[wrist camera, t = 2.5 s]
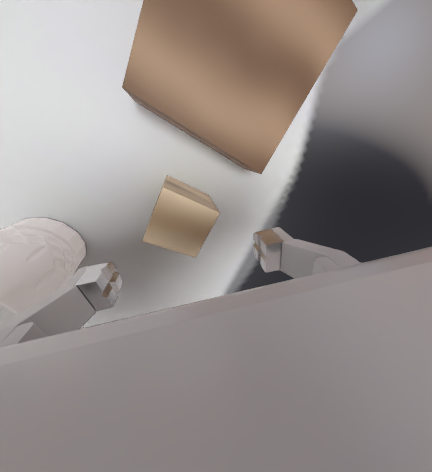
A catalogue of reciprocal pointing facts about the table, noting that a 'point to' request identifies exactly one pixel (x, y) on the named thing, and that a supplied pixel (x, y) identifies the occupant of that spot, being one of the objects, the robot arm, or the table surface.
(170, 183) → the maple block
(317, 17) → the walnut base
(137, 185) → the table surface
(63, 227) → the white cup
